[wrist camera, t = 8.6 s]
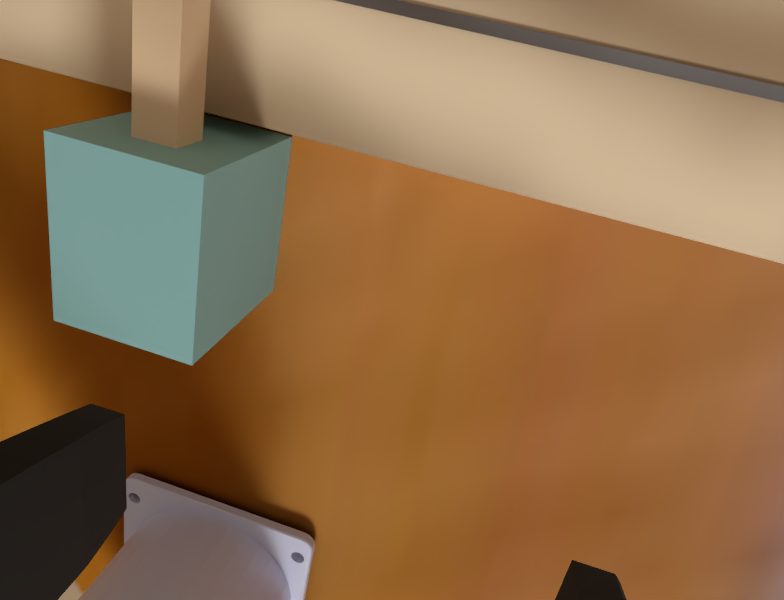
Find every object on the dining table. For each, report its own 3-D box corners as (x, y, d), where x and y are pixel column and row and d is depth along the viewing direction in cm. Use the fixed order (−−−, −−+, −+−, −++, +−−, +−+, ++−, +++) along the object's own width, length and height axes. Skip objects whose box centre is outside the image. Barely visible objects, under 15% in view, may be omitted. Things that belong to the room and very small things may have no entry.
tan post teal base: (273, 290, 20) (192, 365, 16) (162, 256, 21) (53, 320, 17) (329, -155, 15) (229, -227, 11) (177, -184, 16) (22, -264, 11)
